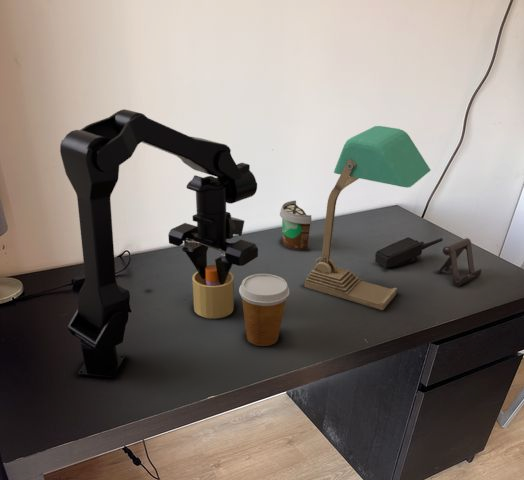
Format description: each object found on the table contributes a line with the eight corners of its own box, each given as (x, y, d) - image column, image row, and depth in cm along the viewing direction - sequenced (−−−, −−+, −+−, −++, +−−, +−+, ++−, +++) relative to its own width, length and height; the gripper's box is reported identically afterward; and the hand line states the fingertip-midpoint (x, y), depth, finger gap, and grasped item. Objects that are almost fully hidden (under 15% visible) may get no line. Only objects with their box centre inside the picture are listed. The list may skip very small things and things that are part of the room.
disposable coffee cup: (259, 319, 111) (260, 268, 104) (295, 336, 106) (299, 283, 99) (228, 338, 105) (228, 284, 98) (265, 357, 100) (268, 302, 93)
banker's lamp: (326, 267, 132) (343, 118, 112) (406, 290, 124) (440, 133, 104) (297, 292, 121) (309, 132, 101) (383, 319, 113) (415, 149, 92)
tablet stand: (459, 287, 126) (468, 255, 121) (431, 275, 131) (439, 243, 126) (479, 277, 130) (489, 246, 126) (452, 266, 135) (460, 235, 130)
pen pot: (230, 320, 110) (230, 288, 106) (189, 316, 111) (188, 285, 107) (236, 300, 117) (236, 269, 113) (198, 296, 118) (197, 266, 114)
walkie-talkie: (369, 253, 135) (426, 232, 143) (379, 275, 135) (435, 253, 142) (382, 244, 129) (440, 222, 137) (393, 267, 129) (450, 244, 137)
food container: (272, 236, 147) (273, 201, 142) (292, 234, 149) (295, 199, 143) (287, 254, 138) (289, 217, 132) (308, 252, 139) (312, 215, 134)
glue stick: (219, 309, 113) (218, 271, 107) (205, 308, 113) (204, 270, 108) (221, 302, 115) (221, 265, 110) (208, 301, 115) (207, 264, 110)
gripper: (274, 208, 103) (271, 279, 112) (199, 188, 111) (202, 256, 120) (241, 225, 95) (241, 300, 104) (163, 203, 103) (169, 274, 112)
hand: (213, 281), depth 110 cm, fingers open, 4 cm apart
